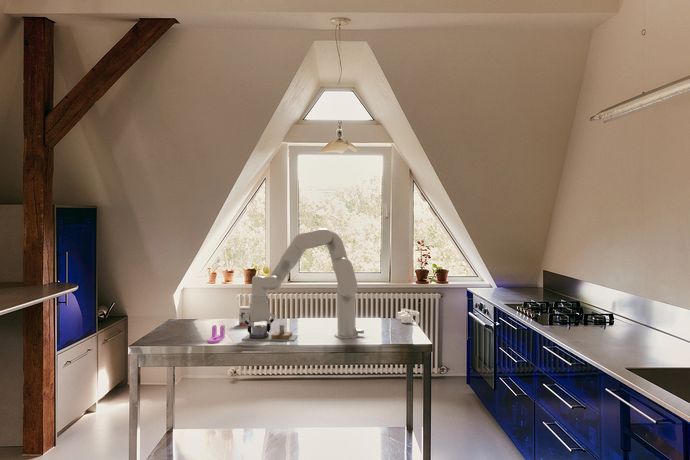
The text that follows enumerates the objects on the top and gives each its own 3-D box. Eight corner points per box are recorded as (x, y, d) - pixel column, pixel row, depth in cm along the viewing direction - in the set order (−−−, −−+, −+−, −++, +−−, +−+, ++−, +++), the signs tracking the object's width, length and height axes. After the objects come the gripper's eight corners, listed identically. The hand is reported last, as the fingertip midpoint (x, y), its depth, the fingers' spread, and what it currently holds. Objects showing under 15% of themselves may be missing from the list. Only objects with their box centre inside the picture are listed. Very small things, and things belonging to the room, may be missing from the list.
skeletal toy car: (396, 320, 296) (396, 308, 296) (413, 320, 297) (413, 308, 297) (402, 326, 276) (402, 314, 277) (421, 326, 277) (421, 313, 277)
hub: (270, 335, 248) (270, 323, 248) (266, 339, 238) (266, 327, 238) (252, 334, 249) (252, 323, 249) (247, 338, 239) (247, 327, 239)
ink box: (239, 327, 271) (239, 307, 271) (239, 326, 276) (239, 306, 276) (254, 327, 273) (254, 306, 273) (253, 325, 278) (254, 305, 278)
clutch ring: (264, 332, 248) (264, 324, 248) (268, 334, 242) (268, 327, 242) (250, 333, 245) (250, 325, 245) (254, 336, 239) (254, 328, 239)
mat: (298, 336, 248) (298, 335, 248) (294, 341, 237) (294, 339, 237) (247, 335, 250) (247, 334, 250) (241, 340, 239) (241, 339, 239)
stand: (292, 335, 247) (292, 323, 247) (288, 339, 238) (288, 327, 238) (275, 335, 248) (275, 323, 248) (271, 339, 239) (271, 326, 239)
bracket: (213, 337, 245) (213, 324, 245) (224, 337, 245) (224, 324, 245) (206, 343, 232) (206, 329, 232) (218, 343, 232) (218, 329, 232)
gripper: (273, 297, 251) (273, 329, 251) (241, 299, 243) (240, 332, 243) (277, 299, 244) (277, 332, 244) (244, 301, 237) (244, 335, 236)
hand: (259, 332), depth 244 cm, fingers open, 9 cm apart
